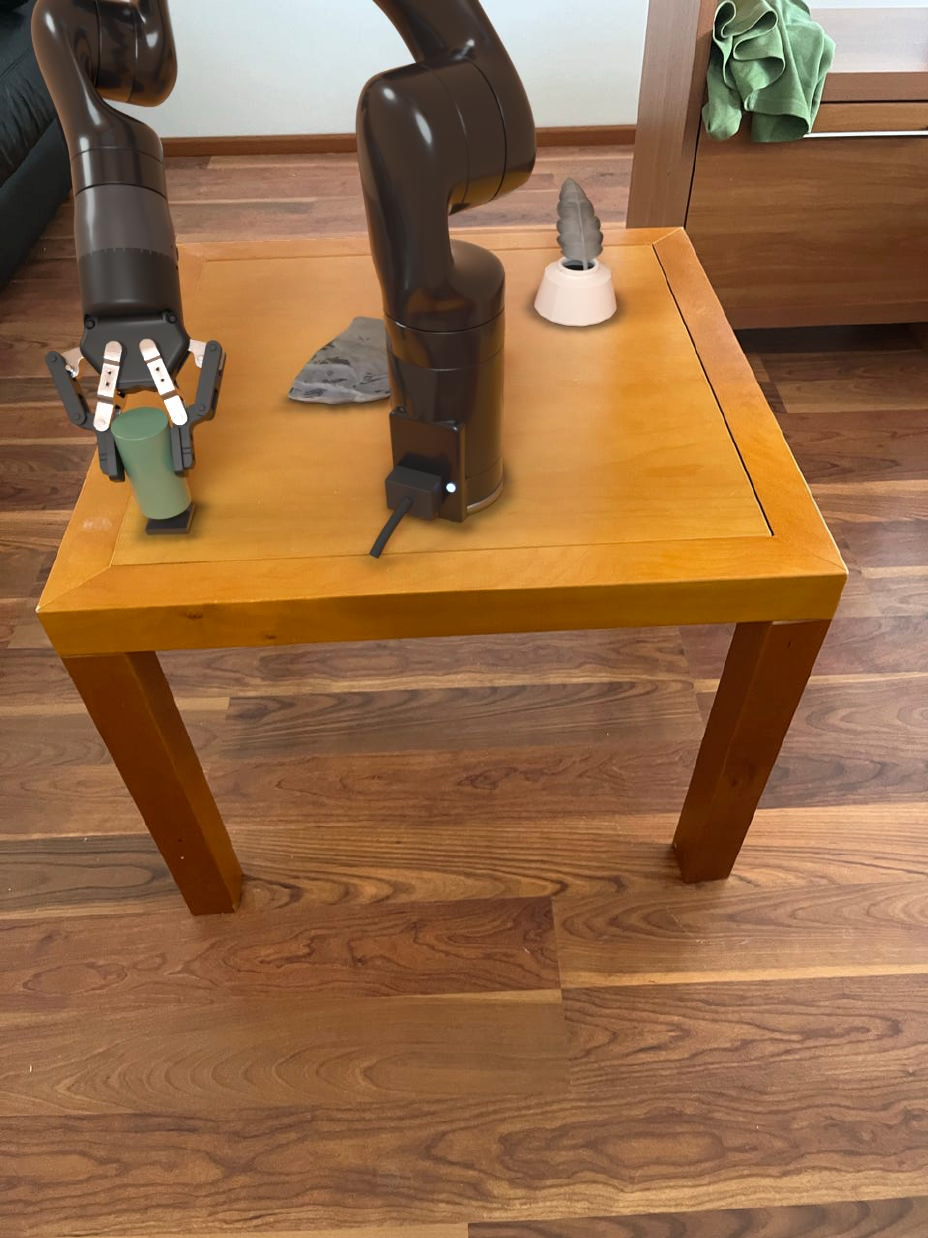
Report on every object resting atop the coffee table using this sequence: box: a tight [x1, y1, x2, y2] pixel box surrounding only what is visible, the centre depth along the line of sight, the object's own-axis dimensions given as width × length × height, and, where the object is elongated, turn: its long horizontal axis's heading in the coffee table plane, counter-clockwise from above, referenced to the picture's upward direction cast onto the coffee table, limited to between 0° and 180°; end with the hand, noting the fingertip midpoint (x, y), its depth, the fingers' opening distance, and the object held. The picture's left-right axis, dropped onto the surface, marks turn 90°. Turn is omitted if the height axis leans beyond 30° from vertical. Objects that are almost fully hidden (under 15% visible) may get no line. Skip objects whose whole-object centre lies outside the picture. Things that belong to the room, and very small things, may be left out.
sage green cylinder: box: [111, 406, 192, 519], centre depth 75 cm, size 4×4×8 cm
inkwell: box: [533, 177, 618, 327], centre depth 103 cm, size 9×18×10 cm, turn 5°
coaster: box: [144, 501, 196, 535], centre depth 79 cm, size 4×4×1 cm
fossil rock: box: [287, 316, 390, 405], centre depth 94 cm, size 18×15×2 cm
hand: (150, 477), depth 74 cm, fingers closed on sage green cylinder, 4 cm apart
